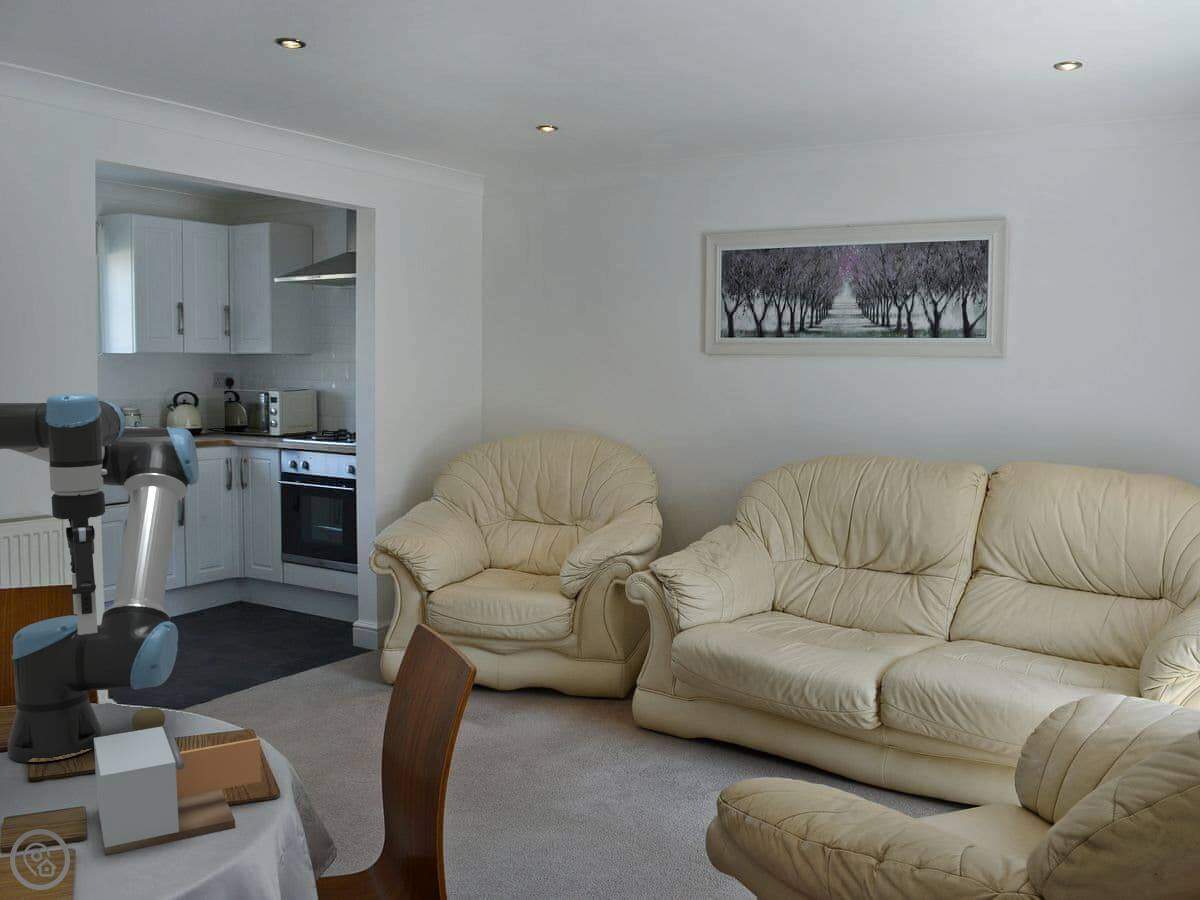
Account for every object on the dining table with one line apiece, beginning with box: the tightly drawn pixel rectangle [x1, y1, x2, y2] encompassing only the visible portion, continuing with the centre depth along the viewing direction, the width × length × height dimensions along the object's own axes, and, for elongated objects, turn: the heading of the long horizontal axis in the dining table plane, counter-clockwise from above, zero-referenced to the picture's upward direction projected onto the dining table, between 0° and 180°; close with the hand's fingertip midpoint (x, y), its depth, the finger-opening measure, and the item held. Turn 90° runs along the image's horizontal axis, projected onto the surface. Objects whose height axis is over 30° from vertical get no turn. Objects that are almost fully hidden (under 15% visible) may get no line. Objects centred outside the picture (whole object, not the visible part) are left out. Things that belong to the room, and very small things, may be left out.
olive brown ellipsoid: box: [131, 707, 166, 731], centre depth 180 cm, size 6×6×11 cm
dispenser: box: [93, 725, 184, 847], centre depth 161 cm, size 16×11×11 cm
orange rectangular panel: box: [176, 737, 262, 798], centre depth 165 cm, size 1×16×7 cm, turn 118°
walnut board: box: [96, 789, 236, 856], centre depth 163 cm, size 16×18×1 cm
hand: (85, 622), depth 168 cm, fingers open, 13 cm apart
